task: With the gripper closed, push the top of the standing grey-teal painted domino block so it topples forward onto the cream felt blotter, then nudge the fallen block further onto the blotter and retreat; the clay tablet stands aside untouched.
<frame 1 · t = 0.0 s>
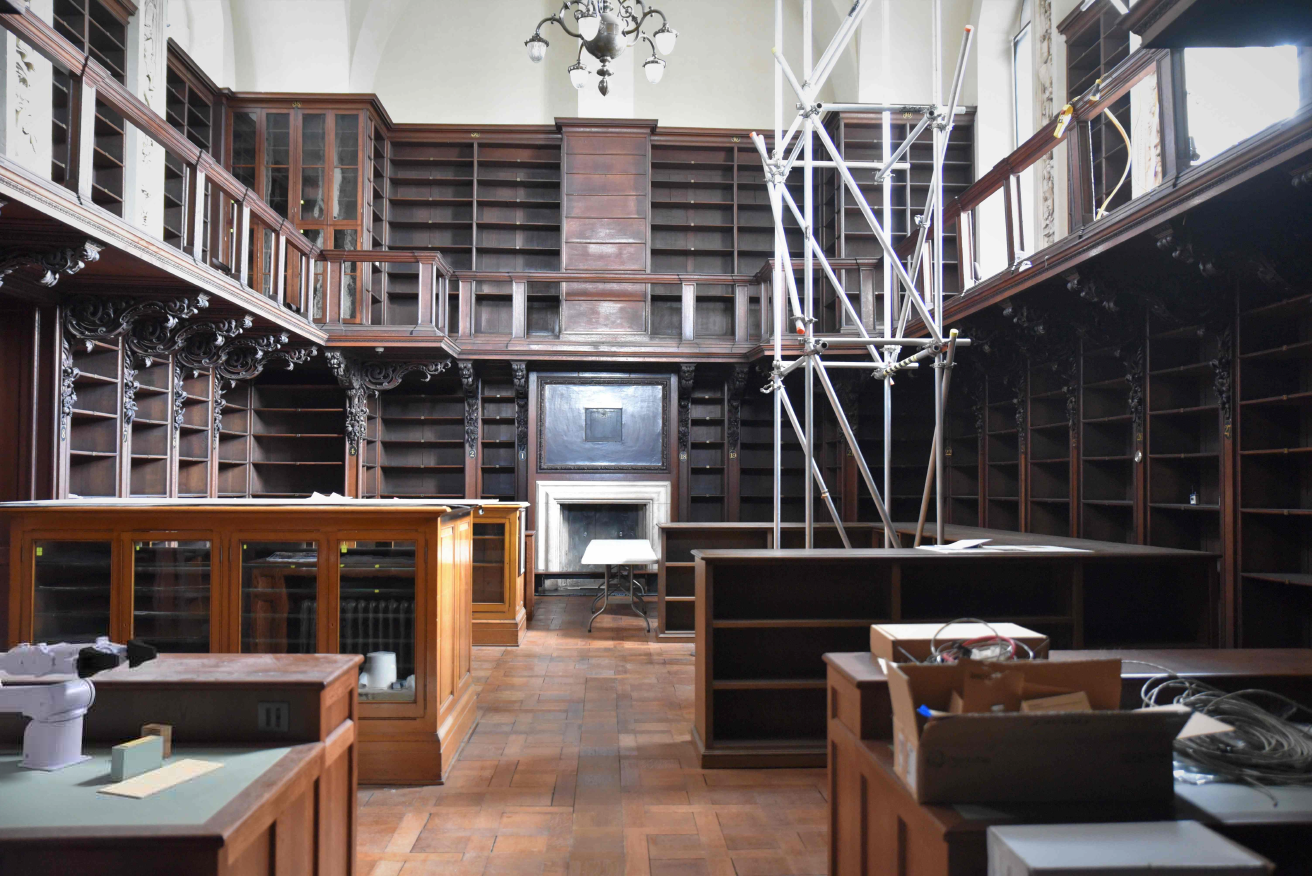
hand: (136, 657, 153), 22 cm above the table, tool horizontal, fingers open, 7 cm apart
domino block: (136, 774, 151), on the table
walnut bookend: (155, 757, 161), on the table
blotter: (165, 778, 149), on the table
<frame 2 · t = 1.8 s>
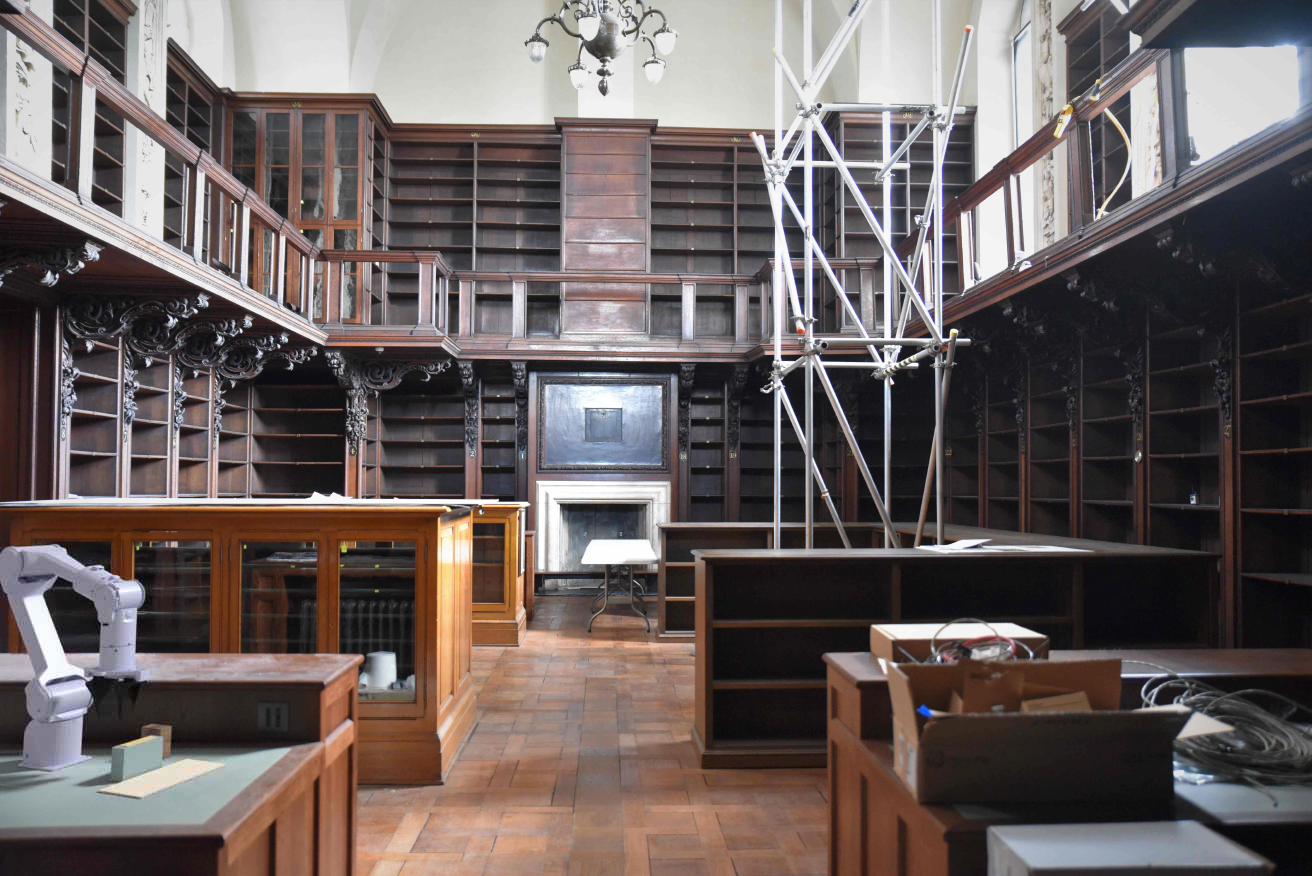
hand: (114, 717, 153), 10 cm above the table, tool pointing down, fingers open, 5 cm apart
nothing on the table moved.
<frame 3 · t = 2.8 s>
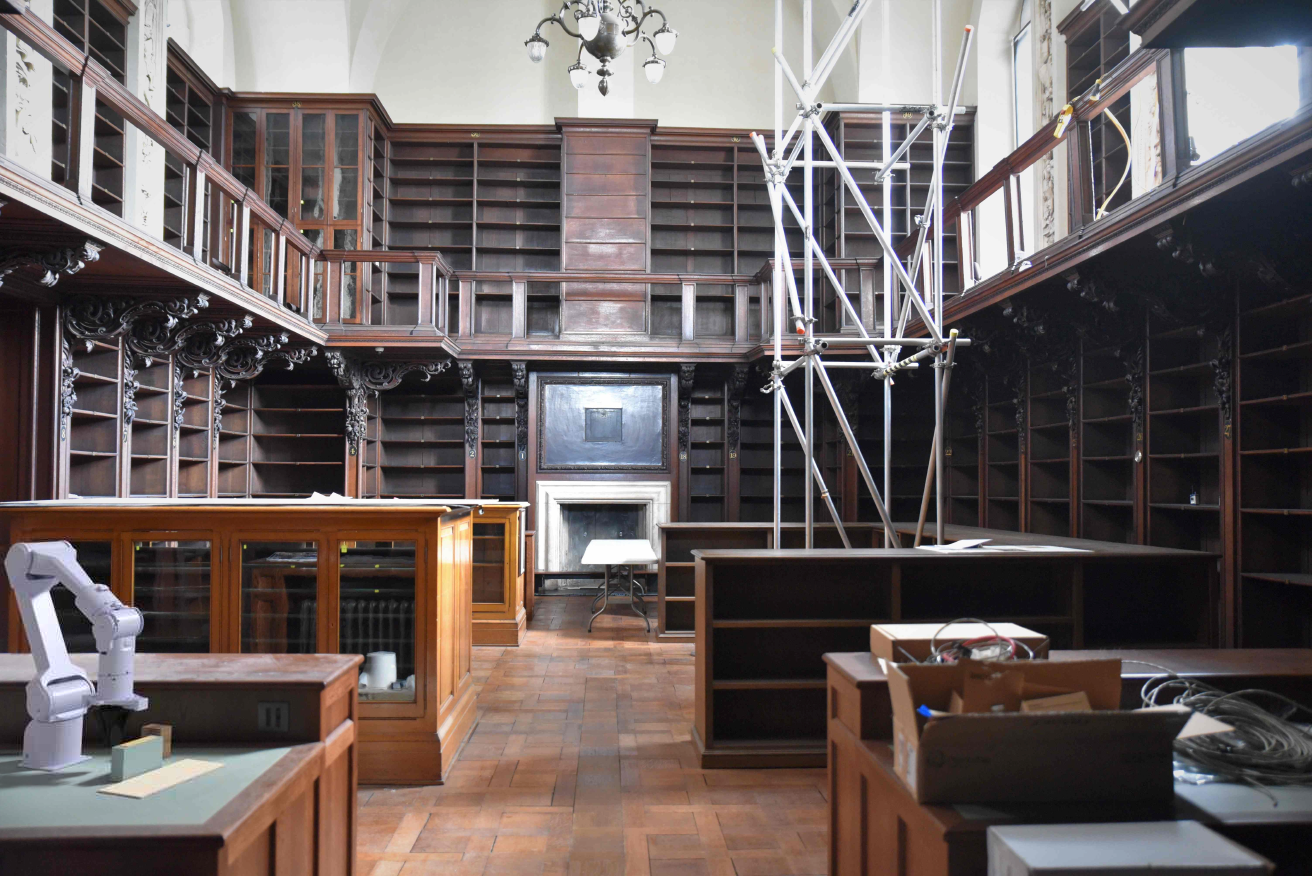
hand: (112, 745, 153), 5 cm above the table, tool pointing down, fingers closed
nothing on the table moved.
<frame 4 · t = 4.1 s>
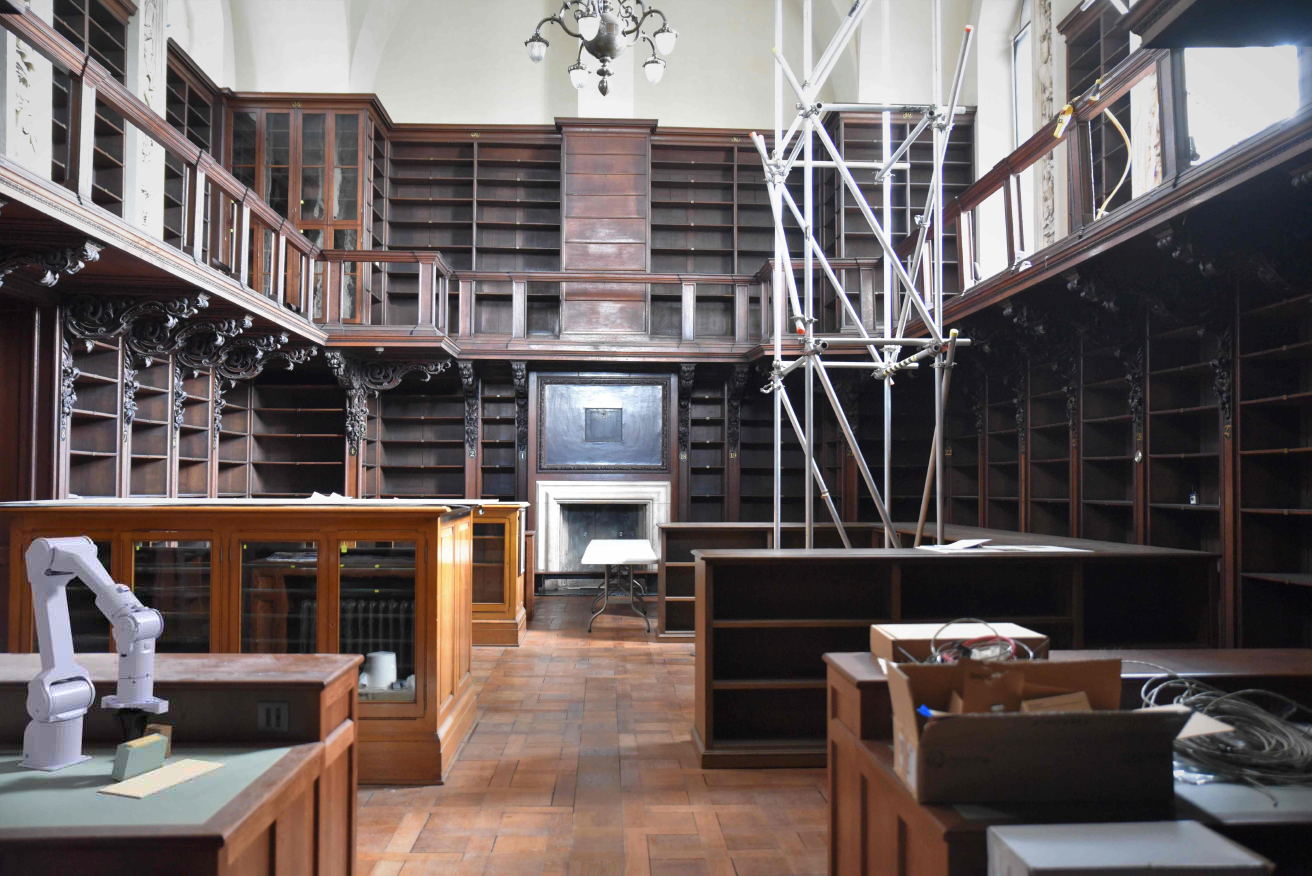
hand: (132, 749, 152), 4 cm above the table, tool pointing down, fingers closed
domino block: (136, 772, 151), on the table, tilted 13°
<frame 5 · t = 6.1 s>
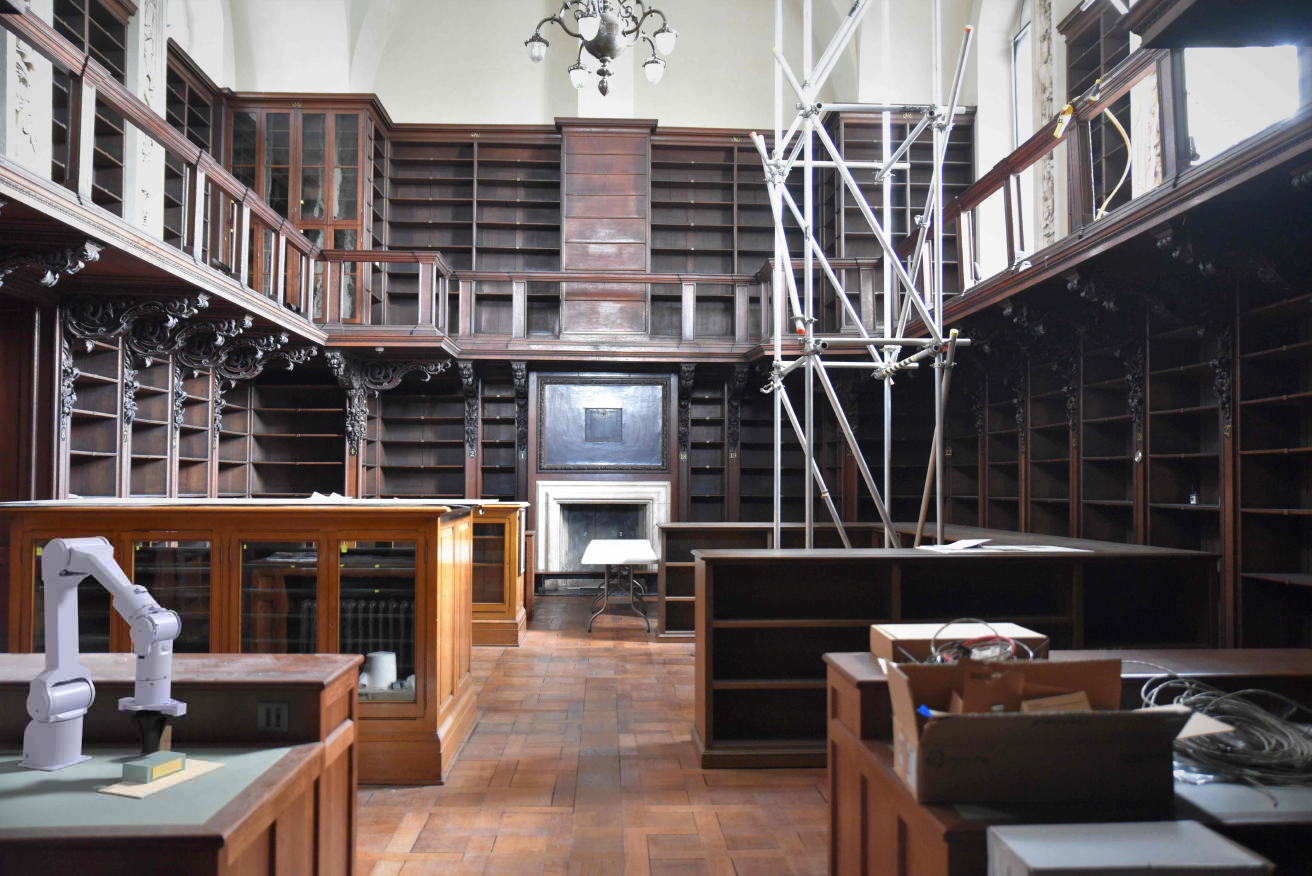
hand: (149, 751, 150), 4 cm above the table, tool pointing down, fingers closed
domino block: (142, 764, 151), point 2 cm above the table, tilted 90°, touching blotter
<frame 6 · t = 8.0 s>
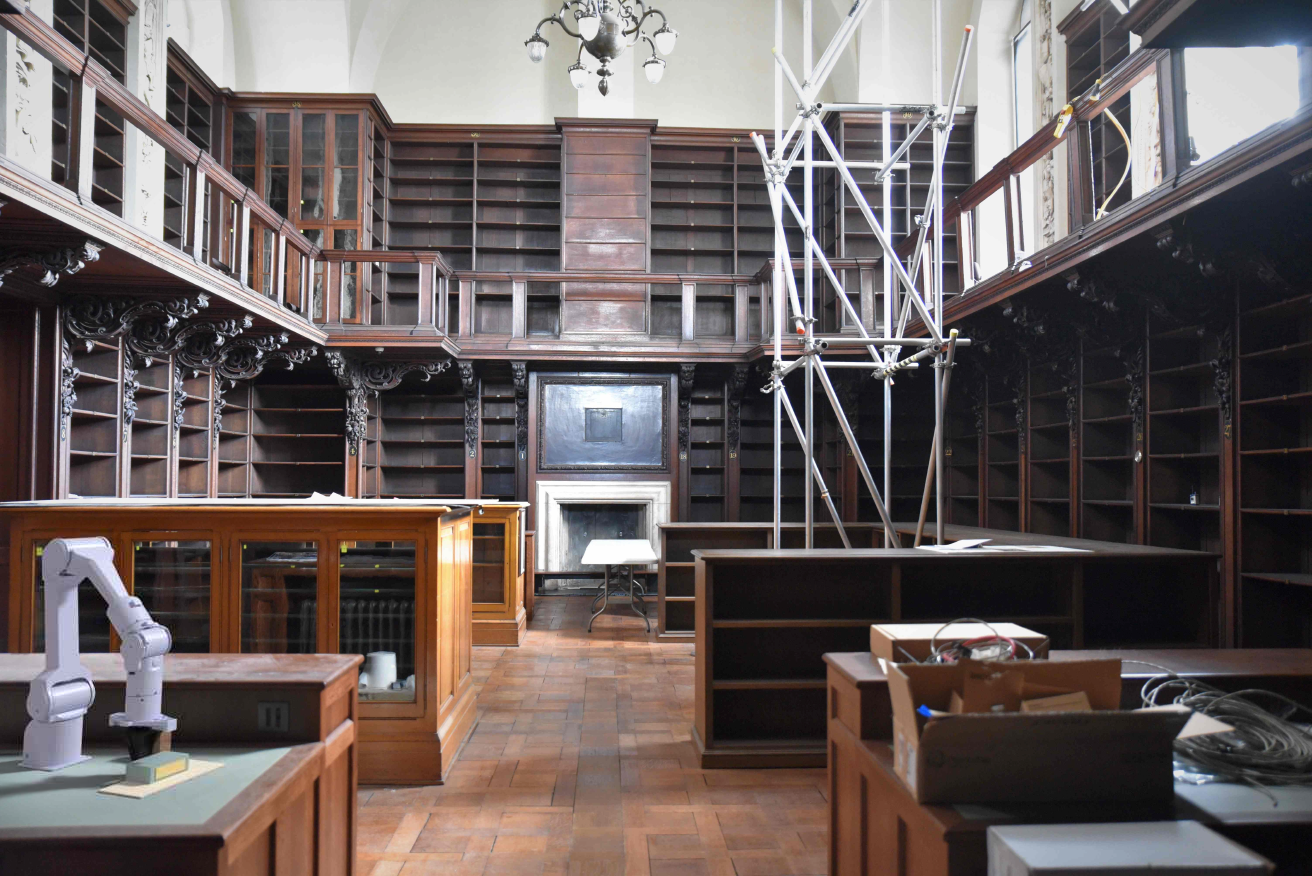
hand: (140, 767, 151), 1 cm above the table, tool pointing down, fingers closed
domino block: (145, 765, 150), point 2 cm above the table, tilted 90°, touching blotter, gripper
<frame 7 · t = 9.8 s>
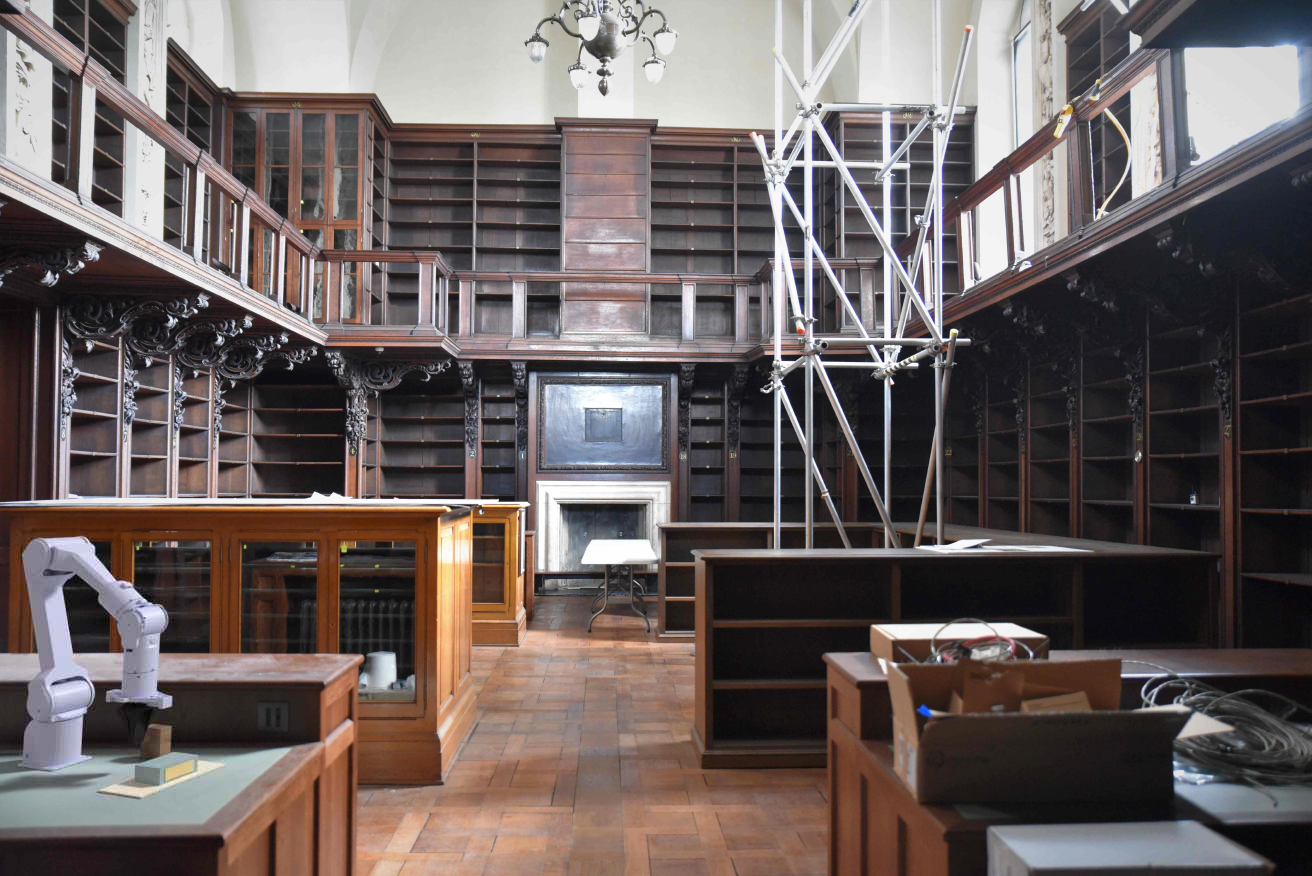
hand: (136, 743, 153), 5 cm above the table, tool pointing down, fingers closed
domino block: (154, 766, 150), point 2 cm above the table, tilted 90°, touching blotter
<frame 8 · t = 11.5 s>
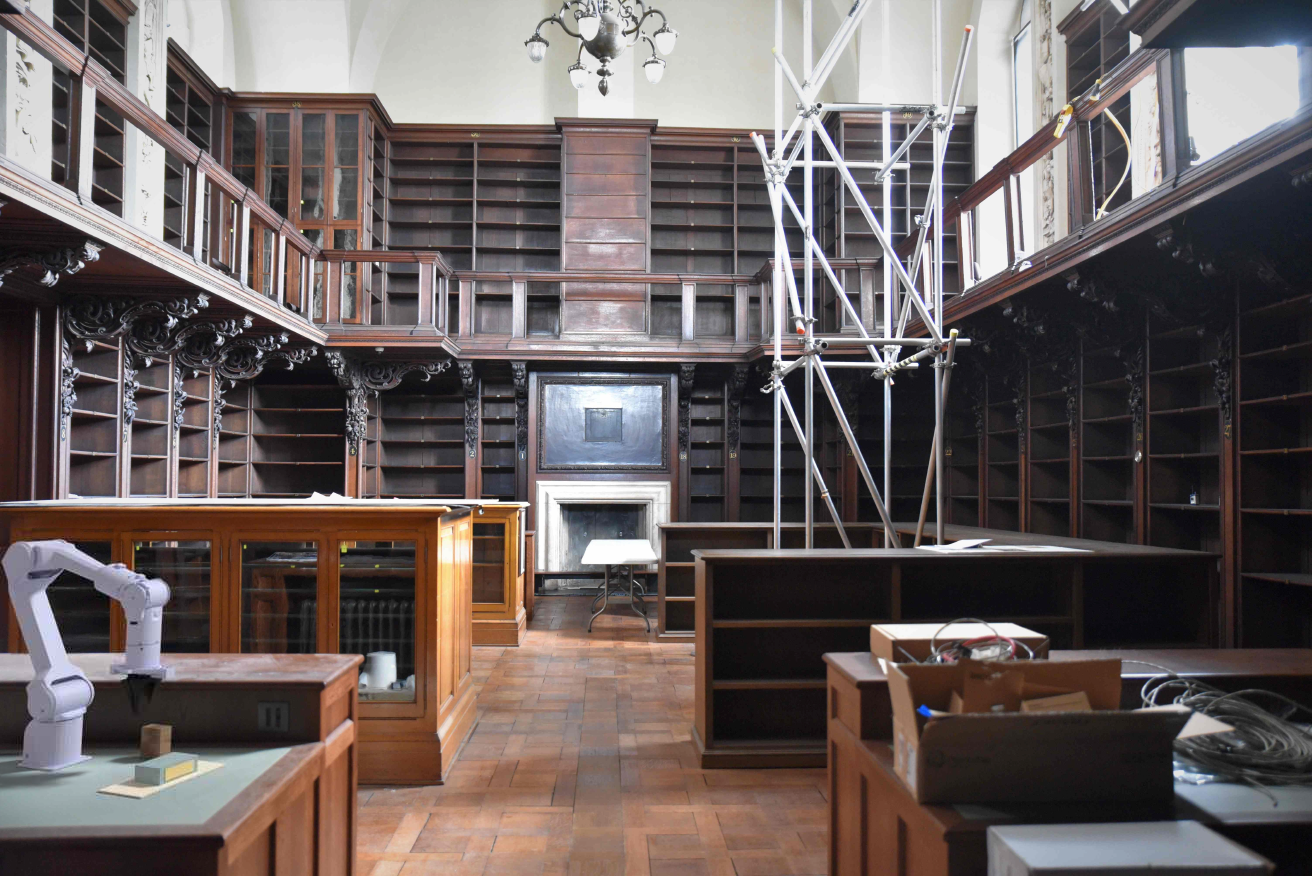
hand: (140, 714, 155), 10 cm above the table, tool pointing down, fingers closed
nothing on the table moved.
at the end: domino block tilted 90°; domino block inside the target area (2.7 cm from its centre), point 1.8 cm above the table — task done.
